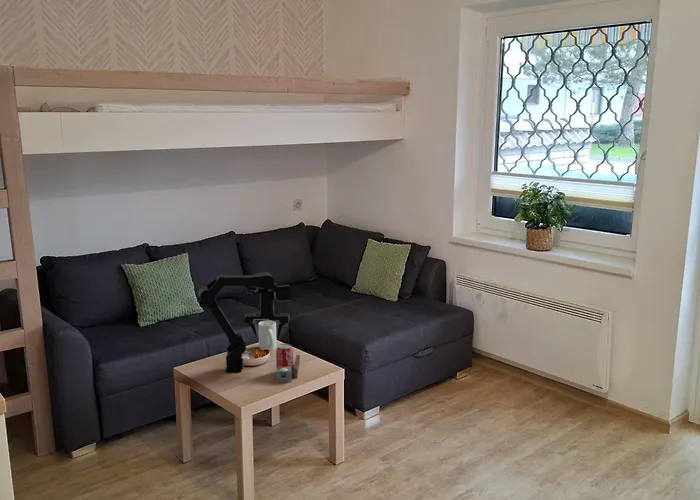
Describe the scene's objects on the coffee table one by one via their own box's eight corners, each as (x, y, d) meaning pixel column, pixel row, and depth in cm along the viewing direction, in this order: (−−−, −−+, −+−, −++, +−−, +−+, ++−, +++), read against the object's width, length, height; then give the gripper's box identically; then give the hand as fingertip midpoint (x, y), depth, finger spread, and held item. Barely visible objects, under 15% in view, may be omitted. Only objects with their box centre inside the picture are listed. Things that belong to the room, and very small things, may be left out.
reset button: (277, 377, 267) (277, 370, 266) (278, 373, 271) (278, 366, 270) (290, 377, 267) (289, 370, 266) (290, 373, 271) (290, 366, 270)
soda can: (294, 370, 277) (294, 343, 275) (291, 376, 271) (291, 349, 268) (278, 369, 278) (278, 342, 276) (274, 376, 271) (274, 348, 269)
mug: (263, 354, 295) (262, 329, 292) (256, 346, 305) (256, 321, 303) (280, 352, 298) (280, 327, 295) (273, 343, 308) (273, 319, 306)
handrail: (293, 378, 270) (293, 368, 269) (296, 364, 284) (296, 354, 283) (297, 378, 270) (297, 368, 269) (299, 364, 284) (299, 354, 283)
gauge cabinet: (276, 381, 266) (276, 370, 265) (277, 378, 269) (276, 367, 268) (291, 381, 266) (290, 370, 265) (291, 378, 269) (291, 367, 268)
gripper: (290, 296, 284) (290, 331, 287) (247, 296, 284) (248, 331, 287) (288, 304, 273) (289, 339, 276) (243, 304, 273) (244, 339, 276)
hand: (267, 337), depth 279 cm, fingers open, 9 cm apart
